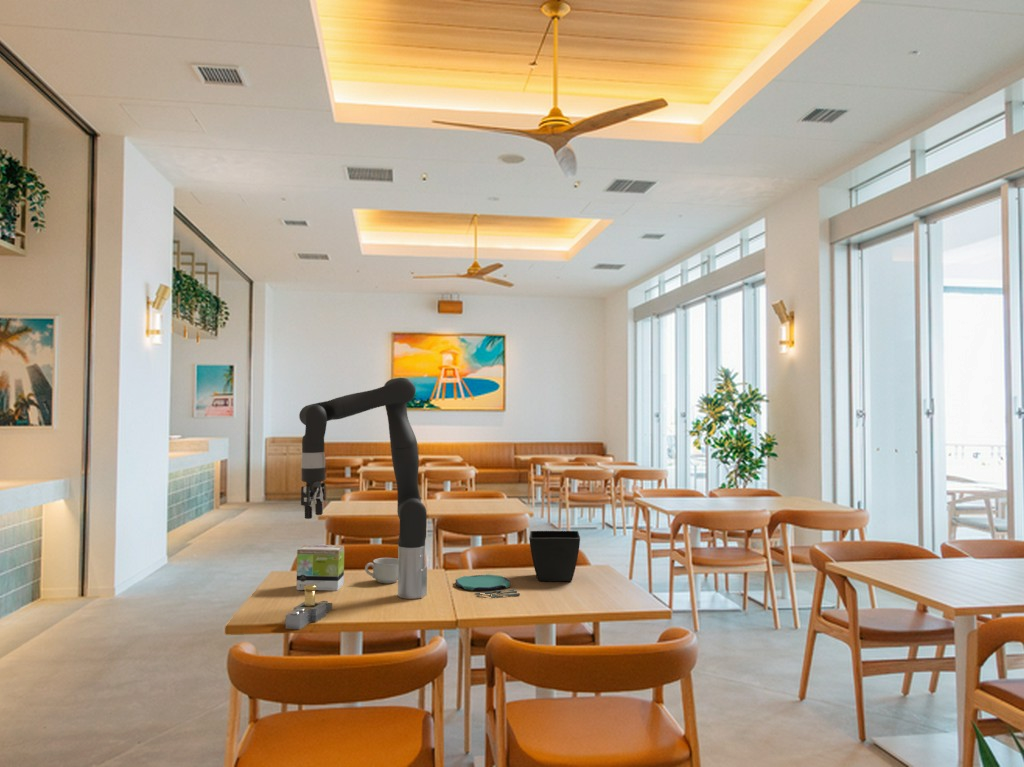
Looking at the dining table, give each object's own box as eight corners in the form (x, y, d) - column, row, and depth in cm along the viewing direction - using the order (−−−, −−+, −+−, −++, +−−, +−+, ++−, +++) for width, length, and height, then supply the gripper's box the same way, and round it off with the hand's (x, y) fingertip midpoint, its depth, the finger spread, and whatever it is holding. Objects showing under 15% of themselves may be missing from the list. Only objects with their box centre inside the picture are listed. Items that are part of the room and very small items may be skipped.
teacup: (399, 577, 293) (399, 556, 294) (404, 583, 283) (404, 562, 283) (362, 580, 289) (362, 558, 289) (366, 586, 279) (366, 564, 279)
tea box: (295, 591, 271) (296, 549, 272) (303, 584, 282) (303, 544, 282) (338, 591, 272) (338, 549, 272) (344, 584, 282) (344, 544, 282)
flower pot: (530, 572, 303) (530, 529, 303) (578, 573, 302) (578, 530, 302) (529, 583, 284) (529, 537, 284) (580, 584, 283) (580, 538, 283)
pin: (318, 617, 237) (318, 584, 238) (312, 620, 233) (313, 587, 234) (306, 616, 238) (306, 584, 238) (301, 619, 234) (301, 586, 234)
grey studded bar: (336, 609, 246) (336, 594, 247) (304, 629, 224) (304, 613, 224) (315, 608, 248) (315, 594, 248) (281, 628, 225) (281, 612, 225)
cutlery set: (501, 578, 293) (501, 572, 293) (525, 597, 265) (525, 591, 265) (450, 582, 287) (450, 576, 287) (469, 603, 259) (469, 596, 259)
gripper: (315, 468, 241) (316, 520, 240) (332, 464, 255) (333, 513, 254) (293, 468, 242) (293, 520, 241) (311, 464, 256) (311, 513, 255)
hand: (313, 516), depth 248 cm, fingers open, 8 cm apart
